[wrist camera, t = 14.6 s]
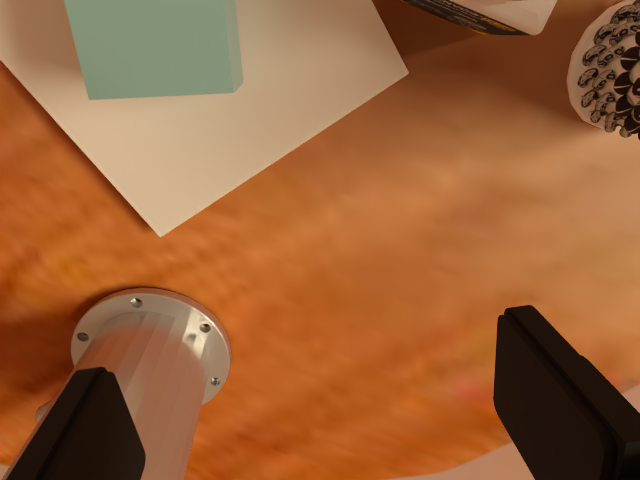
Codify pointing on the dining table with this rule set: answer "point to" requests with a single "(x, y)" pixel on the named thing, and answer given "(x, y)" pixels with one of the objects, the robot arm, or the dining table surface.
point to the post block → (208, 98)
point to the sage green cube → (156, 47)
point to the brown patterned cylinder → (608, 70)
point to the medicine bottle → (491, 14)
